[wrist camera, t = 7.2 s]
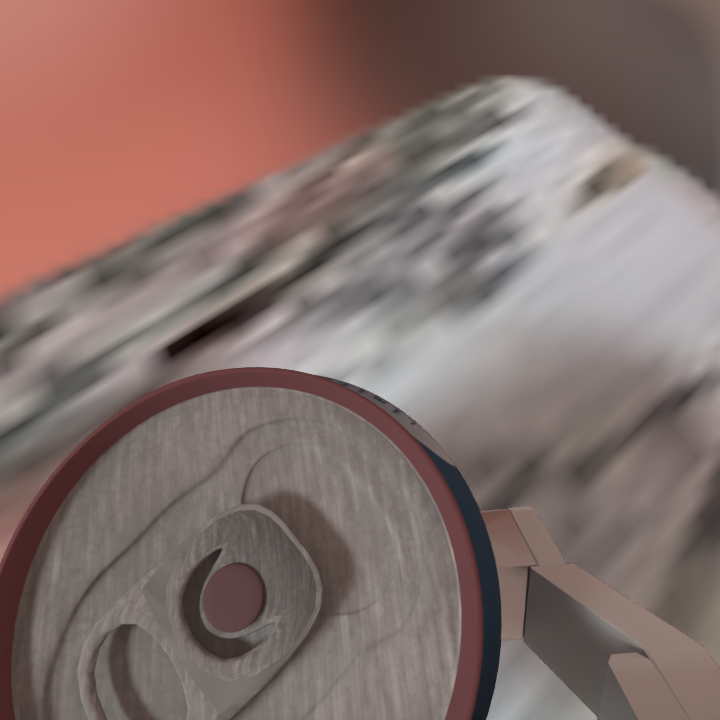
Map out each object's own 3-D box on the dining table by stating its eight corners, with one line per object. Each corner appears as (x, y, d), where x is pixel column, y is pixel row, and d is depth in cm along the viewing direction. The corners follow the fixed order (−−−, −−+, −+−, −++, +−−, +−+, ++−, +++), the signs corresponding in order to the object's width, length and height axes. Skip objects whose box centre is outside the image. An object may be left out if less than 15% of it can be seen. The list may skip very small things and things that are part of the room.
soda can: (342, 433, 18) (278, 243, 7) (474, 577, 16) (679, 623, 5) (197, 563, 16) (-174, 575, 5) (322, 743, 14) (119, 1372, 3)
